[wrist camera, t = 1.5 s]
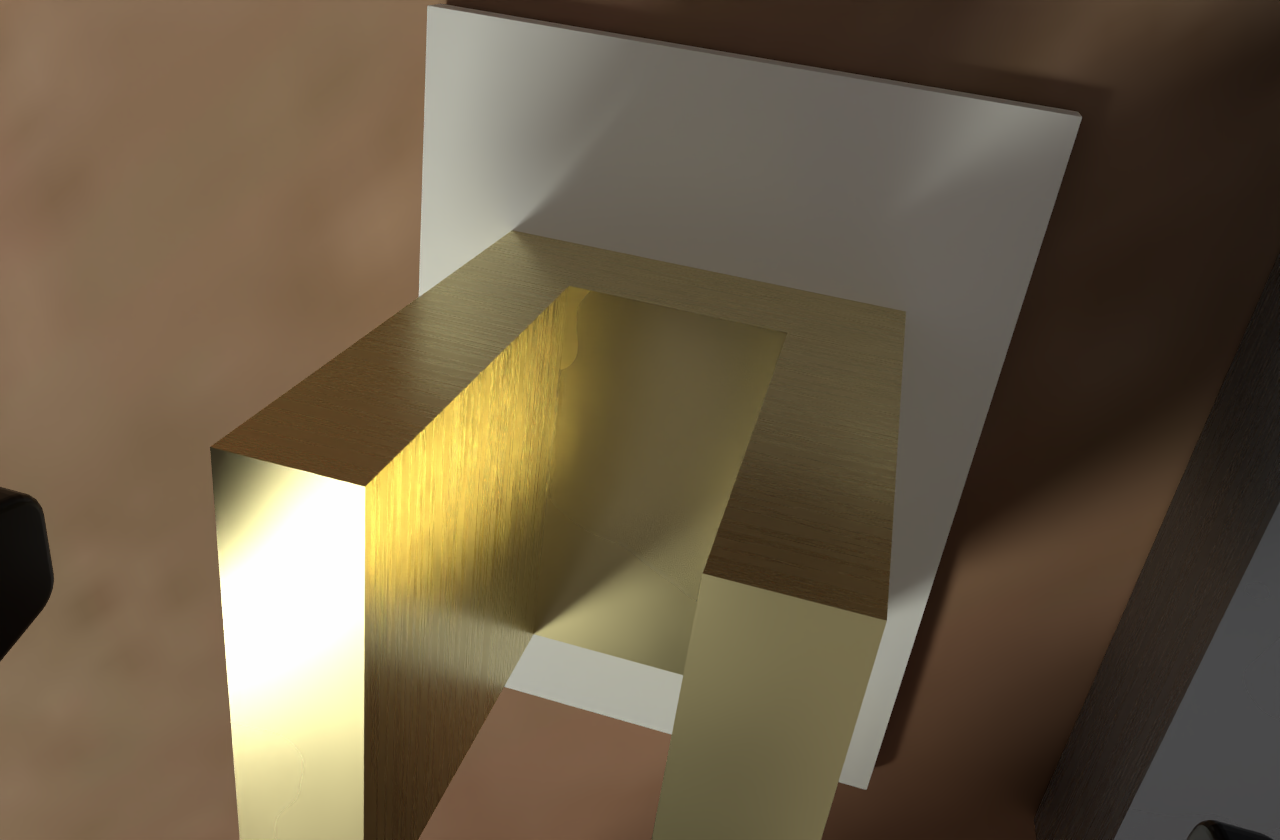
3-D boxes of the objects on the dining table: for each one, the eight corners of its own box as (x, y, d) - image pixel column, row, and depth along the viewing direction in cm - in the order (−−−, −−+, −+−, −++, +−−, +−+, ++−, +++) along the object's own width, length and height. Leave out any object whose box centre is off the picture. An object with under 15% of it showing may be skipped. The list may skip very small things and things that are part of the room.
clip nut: (819, 639, 12) (751, 1067, 7) (489, 552, 12) (243, 898, 8) (906, 310, 10) (886, 621, 5) (512, 230, 10) (209, 447, 6)
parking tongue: (867, 771, 13) (866, 790, 12) (418, 645, 14) (407, 659, 13) (1077, 111, 9) (1081, 116, 9) (441, 4, 10) (427, 5, 10)
